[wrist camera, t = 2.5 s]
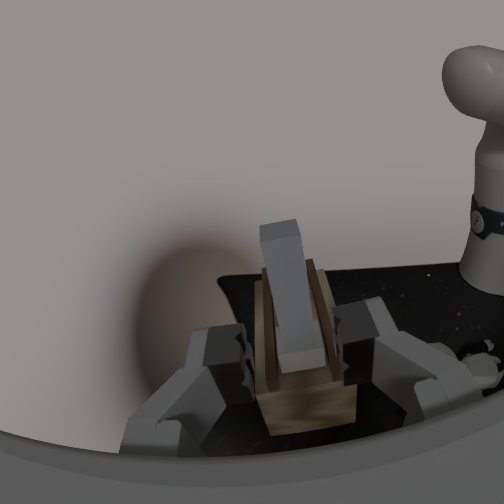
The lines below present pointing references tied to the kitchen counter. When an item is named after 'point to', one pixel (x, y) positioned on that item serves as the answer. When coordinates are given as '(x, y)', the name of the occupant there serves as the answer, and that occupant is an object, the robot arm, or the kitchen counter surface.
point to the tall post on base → (291, 298)
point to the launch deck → (305, 381)
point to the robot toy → (479, 365)
